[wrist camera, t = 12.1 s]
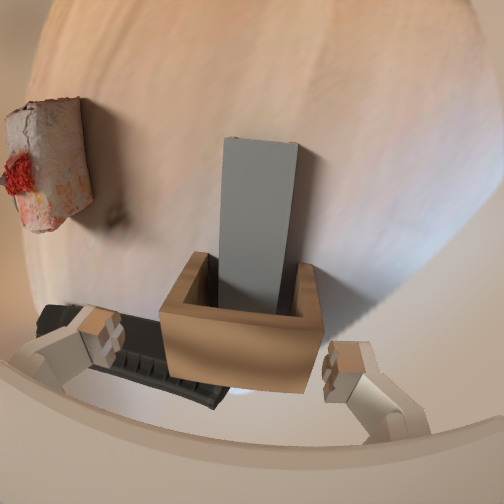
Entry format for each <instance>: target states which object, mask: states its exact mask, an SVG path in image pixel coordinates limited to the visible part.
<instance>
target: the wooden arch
mask: <svg viewBox="0 0 504 504" xmlns="http://www.w3.org/2000/svg"><path fill="white" fill-rule="evenodd" d="M159 317H160V324H161V330H162V336H163V342H164V348H165V353H166V359H167V364H168V369H169V374H170V376H171V377H175V378H180V379H185V380H190V381H196V382H201V383H207V384H213V385H220V386H227V387H234V388H241V389H250V390H259V391H270V392H282V393H297V394H304V391H305V388H306V386H307V382H308V380H309V377H310V374H311V371H312V369H313V366H314V363H315V360H316V357H317V354H318V351H319V348H320V344H321V341H322V338H323V335H324V326H323V320H322V314H321V308H320V303H319V297H318V292H317V286H316V281H315V276H314V271H313V266H312V264H304V263H298V267H297V273H296V278H295V284H294V289H293V295H292V300H291V306H290V311H289V316H282V315H272V314H262V313H254V312H245V311H237V310H229V309H221V308H214V307H208V253H203V252H194V253H193V254H192V256H191V258H190V259H189V261H188V262H187V264H186V266H185V267H184V269H183V271H182V272H181V274H180V276H179V277H178V279H177V281H176V282H175V284H174V286H173V288H172V289H171V291H170V293H169V294H168V296H167V298H166V299H165V301H164V303H163V305H162V306H161V308H160V310H159Z"/></svg>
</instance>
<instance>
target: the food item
mask: <svg viewBox="0 0 504 504" xmlns="http://www.w3.org/2000/svg"><path fill="white" fill-rule="evenodd" d="M28 103H30V104H28ZM28 103H27V104H26V105H25V106H23V107H21V108H19V109H17V110H15V111H13V112H12V113H10V114H9V115H7V117H6V118H5V128H6V145H7V153H8V160H7V162H6V165H5V169H6V172H4V173H3V175H2V177H1V178H0V185H3V186H5V187H6V190H7V192H8V194H10V195H12V199H13V202H14V206H15V208H16V209H17V211H18V213H19V214H20V218H21V221H22V225H23V227H24V228H25V229H27V230H31V231H32V232H33V233H36V234H40V233H45V232H52V231H54V230H56V229H57V228H58V227H59V226H60V225H61V224H62V223H63V222H64V221H65V220H66V219H67V218H68V217H70V216H73V215H74V214H76V213H78V212H79V211H81V210H83V209H84V208H85V207H87V206H88V205H90V204H91V203H92V202H93V201H94V196H93V193H92V189H91V184H90V177H89V173H88V168H87V160H86V154H85V148H84V138H83V127H82V121H81V111H80V98H79V96H78V97H76V98H68V97H65V98H58V99H57V100H55V99H48V100H45V101H39V102H38V101H35V102H33V101H29V102H28ZM6 173H7V174H6ZM7 176H8V177H7ZM4 184H6V185H4Z"/></svg>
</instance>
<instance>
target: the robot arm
mask: <svg viewBox="0 0 504 504" xmlns="http://www.w3.org/2000/svg"><path fill="white" fill-rule="evenodd" d="M121 320H122V319H121V316H120V313H119V312H117V311H113V310H109V309H105V308H102V307H97V306H93V305H90V304H88V305H85V306H84V307H83V308H82V310H81V311H80V312H79V313H78V314H77V315H76V317H75V318H74V319H73V320H72V321H71V323H70V324H69V325H68V326H67V327H65V326H64V327H61V328H59V329H57V330H55V331H52V332H50V333H48V334H46V335H43V336H41V337H39V338H36V339H34V340H32V341H30V342H27V343H25V344H23V345H22V346H21V347H20V348H19V349H18V351H17V352H16V353H15V354H14V355H13V357H12V358H11V359H10V360H9V362H8V363H6V362H5V361H3V360H2V359H0V504H504V416H501V415H499V416H494V417H491V418H489V419H486V420H483V421H480V422H476V423H473V424H470V425H467V426H463V427H460V428H456V429H452V430H448V431H445V432H440V433H436V434H431V431H430V428H429V424H428V422H427V418H426V415H425V412H424V409H423V408H422V407H421V406H420V405H419V404H418V403H417V402H415V401H414V400H413V399H412V398H411V397H410V396H409V395H408V394H407V393H405V392H404V391H403V390H402V389H401V388H400V387H399V386H398V385H396V384H395V383H394V382H393V381H392V380H391V379H390V378H388V377H387V376H386V375H385V374H384V373H380V371H379V368H378V365H377V362H376V359H375V355H374V352H373V349H372V346H371V344H370V342H358V341H357V342H353V341H352V342H351V341H331V342H330V344H329V347H328V352H329V354H328V355H326V356H325V358H324V361H323V366H322V380H323V381H324V382H325V383H326V384H325V386H324V388H323V390H324V399H325V403H346V405H347V406H348V408H349V409H350V410H351V411H352V413H353V414H354V415H355V416H356V418H357V419H358V420H359V422H360V423H361V424H362V426H363V427H364V428H365V429H366V431H367V432H368V433H369V435H370V436H369V437H368V439H367V440H366V441H365V442H364V443H363V444H362V445H351V446H330V447H298V446H275V445H261V444H251V443H242V442H234V441H227V440H220V439H214V438H208V437H203V436H197V435H191V434H187V433H182V432H178V431H173V430H169V429H165V428H161V427H158V426H154V425H150V424H146V423H143V422H139V421H136V420H133V419H130V418H127V417H123V416H121V415H118V414H114V413H112V412H109V411H106V410H103V409H101V408H98V407H95V406H93V405H90V404H88V403H85V402H83V401H80V400H78V399H76V398H73V397H71V396H69V395H67V394H66V393H65V391H64V390H63V388H62V387H61V386H62V385H63V384H65V383H66V382H68V381H69V380H71V379H72V378H74V377H75V376H77V375H78V374H80V373H81V372H82V371H84V370H86V369H87V368H88V367H90V366H91V365H93V364H95V365H99V366H102V367H105V368H109V369H110V367H111V365H112V364H113V362H114V360H115V359H116V354H115V352H117V351H119V350H121V348H122V346H123V345H124V340H125V331H124V328H123V327H122V325H121V324H120V321H121Z"/></svg>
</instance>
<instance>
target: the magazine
mask: <svg viewBox="0 0 504 504" xmlns="http://www.w3.org/2000/svg"><path fill="white" fill-rule="evenodd" d="M81 310H82V308H80V307H74V305H72V306H63V305H50V304H49V305H46V306H45V308H44V309H43V311H42V313H41V315H40V317H39V319H38V321H37V323H36V324H37V331H36V335H35V338H34V339H36V338H39V337H41V336H43V335H46V334H48V333H50V332H52V331H55V330H57V329H59V328H61V327H64V326H65V327H67V326H68V325H69V324H70V323H71V321H72V320H73V319H74V318H75V317H76V315H77V314H78V313H79V312H80V311H81ZM120 316H121V319H122V320H121V321H120V324H121V325H122V327H123V328H124V331H125V340H124V345H123V346H122V348H121V350H119V351H117V352H115V354H116V359H115V360H114V362H113V364H112V365H111V367H110V369H109V368H105V367H102V366H99V365H95V364H93V365H91V366H90V367H88V368H90V369H93V370H97V371H100V372H104V373H108V374H111V375H115V376H118V377H121V378H125V379H128V380H131V381H133V382H137V383H140V384H143V385H146V386H149V387H152V388H156V389H160V390H163V391H166V392H169V393H172V394H176V395H178V396H182V397H184V398H187V399H189V400H192V401H195V402H197V403H200V404H202V405H204V406H207V407H209V408H210V409H212V410H214V409H215V408H216V407H217V405H218V404H219V403H220V402H221V401H222V399H223V398H224V397H225V395H226V394H227V392H228V390H229V389H230V387H227V386H220V385H213V384H207V383H201V382H196V381H190V380H185V379H180V378H175V377H171V376H170V374H169V369H168V364H167V359H166V353H165V348H164V342H163V336H162V330H161V324H160V322H157V321H153V320H149V319H144V318H140V317H135V316H130V315H125V314H120Z"/></svg>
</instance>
